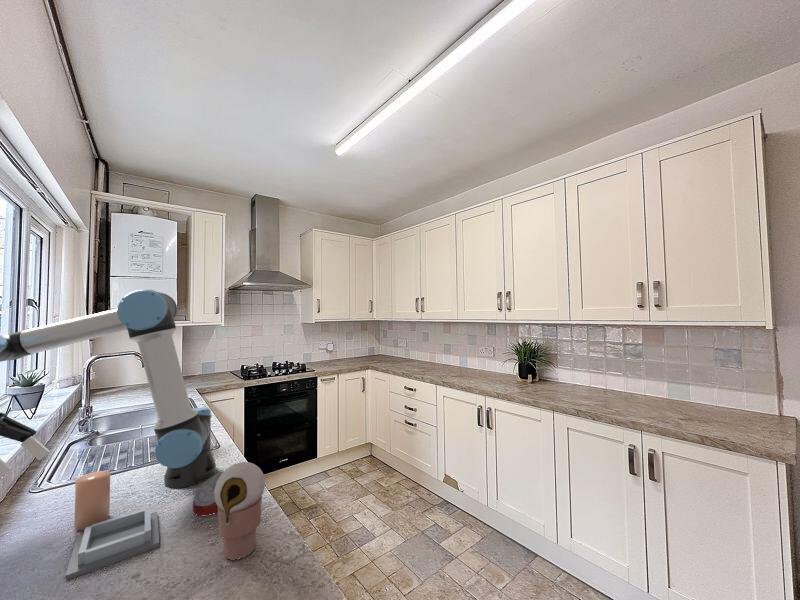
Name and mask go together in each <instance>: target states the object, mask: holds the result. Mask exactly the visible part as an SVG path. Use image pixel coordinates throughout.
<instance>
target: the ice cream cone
mask: <svg viewBox="0 0 800 600" xmlns="http://www.w3.org/2000/svg"><path fill="white" fill-rule="evenodd" d="M222 472H223V473H222V474H221V476H220V477H219V479H218V481H217V483H216V486H215V490H214V498H215V502H216V504H217V506H218V513H217V515H218V533H219V535H220V536H221V537H223V556H224V558H225V557H226V558H227V559H230V560H229V561H231V560H233V561H236V560H235V559H239V558H242V557H244V556H247V555H248V554H249V553H251V552H252V551H253V550H254V548H255V549H256V547H257V532H256V531H257V528H258V527H259V526H260V524H261V520H262V500H263V493H264V491H265V487H266V486H265V485H266V480H265V479H266V478H265V475H264V473H263V472H264V471H262V469H261V468H260V467H259V466H258V465H256V464H255V463H254V462H253V463H252V462H249V461H248V462H247V461H242V462H241V461H240V462H236V463H235V464H232V465H230V466H229V467H227V468H226V469H225V470H223V471H222ZM255 546H256V547H255ZM254 551H255V550H254ZM254 551H253V552H254ZM253 552H252V553H253ZM252 553H251V554H252ZM248 556H249V555H248ZM248 556H247V557H248ZM226 558H225V559H226ZM227 559H226V560H227ZM242 559H243V558H242Z"/></svg>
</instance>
